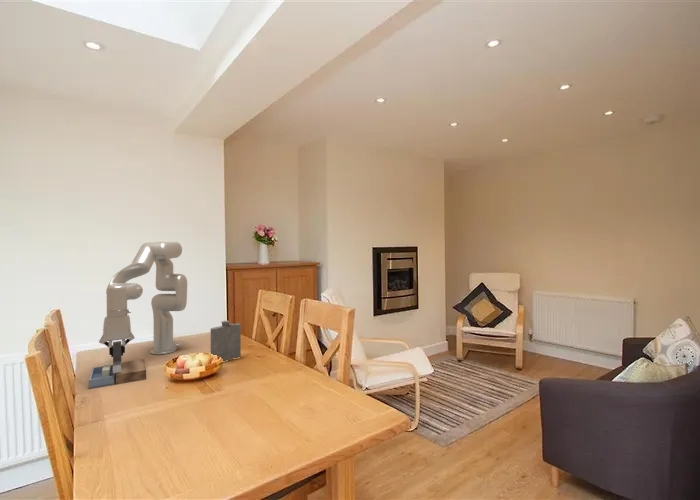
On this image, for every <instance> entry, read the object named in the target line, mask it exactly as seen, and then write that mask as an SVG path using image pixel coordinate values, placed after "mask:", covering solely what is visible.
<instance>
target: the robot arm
mask: <svg viewBox="0 0 700 500" xmlns="http://www.w3.org/2000/svg"><path fill="white" fill-rule="evenodd" d="M182 252H183V247H182V244H181V243H179V242H178V241H155V242H151V241H150V242H144V243H143V244H142V245H141V246H140V248H139V249H138V251H137V253H136V254H135V256H134V258H133V260H132V261H131V263H130V264H129V265H127V266H125V267H123V268H122V269H120V270H119V271H118V272H116V273H115V274H114V275H113V276H112V277H111V280H110V281H109V282H108V285H107V287H106V290H105V291H106V292H105V293H106V316H105V317H104V320H103V325H102V326H103V327H102V328H103V329H102V330H103V331H102V335H101V337H100V339H99V340H98V344H101V345H105V346H107V348H109V350H108V353H109V356H110V357H111V358H113V342H114V341H121V357H123V356H124V354H125V353H126V345H128V343H130V342H131V341H133V340H134V339H135V336H134V335H135V334H133V333H132V329H131V328H132V326H131V317H130V315H129V314H131V313H132V309H128V301H129V300H130V301H131V300H134V301H135V300H137V299H139V298H140V297H141V296H142V295H143V291H144V290H143V287H142V286H141V284H139V283H135V282H133V283H132V282H128V281H130V280H133V279H136V278H139V277H141V276H144V275H147V274H148V273H149V272H150V270H151V268H152V267H153V265H154V263H155V288H156V290H157V291H160V292H175V293H157V294H155V295H154V296H153V297H152V298H151V302H150V304H151V308H152V309H151V310H152V315H153V318H152V319H153V348H152V349H150V352H149V353H150V354H151V355H158V356H159V355H167V354H171V353H174V352H176V351H177V348H178V347H183V342H174V318H173V315H172V314H171V312H182V311H184V310H185V309H186V306H187V302H188V298H187V297H188V279H187V276H186V275H184V274H183V273H174V263H173V261H172V260H171V259H177V258H179V257H180V256H181V255H182Z"/></svg>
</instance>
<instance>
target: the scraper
mask: <svg viewBox="0 0 700 500" xmlns="http://www.w3.org/2000/svg"><path fill="white" fill-rule="evenodd" d="M112 345H113V357H112V365H113V373H115V374H116V373H118V372H121V362H122V356H121V346H122V340H115V341H112Z"/></svg>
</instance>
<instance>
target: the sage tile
mask: <svg viewBox="0 0 700 500" xmlns="http://www.w3.org/2000/svg"><path fill="white" fill-rule="evenodd" d="M109 370H110V367H103V369H102V378H103V377H109Z"/></svg>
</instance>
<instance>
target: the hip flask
mask: <svg viewBox="0 0 700 500" xmlns="http://www.w3.org/2000/svg"><path fill="white" fill-rule="evenodd" d="M241 325H242V324H241V323H230V321H229V320H222V321H221V325H219V326H215V327H211V328H210V355H211V354H213V355H217V356H219V357H221V358H222V359H223V361H226V360H230V359H233V358H238V357H242V356H241V353H242V352H241V350H242V349H241V347H242V346H241V342H242V341H241V336H242V335H241V334H242V333H241V331H242V330H241Z"/></svg>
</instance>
